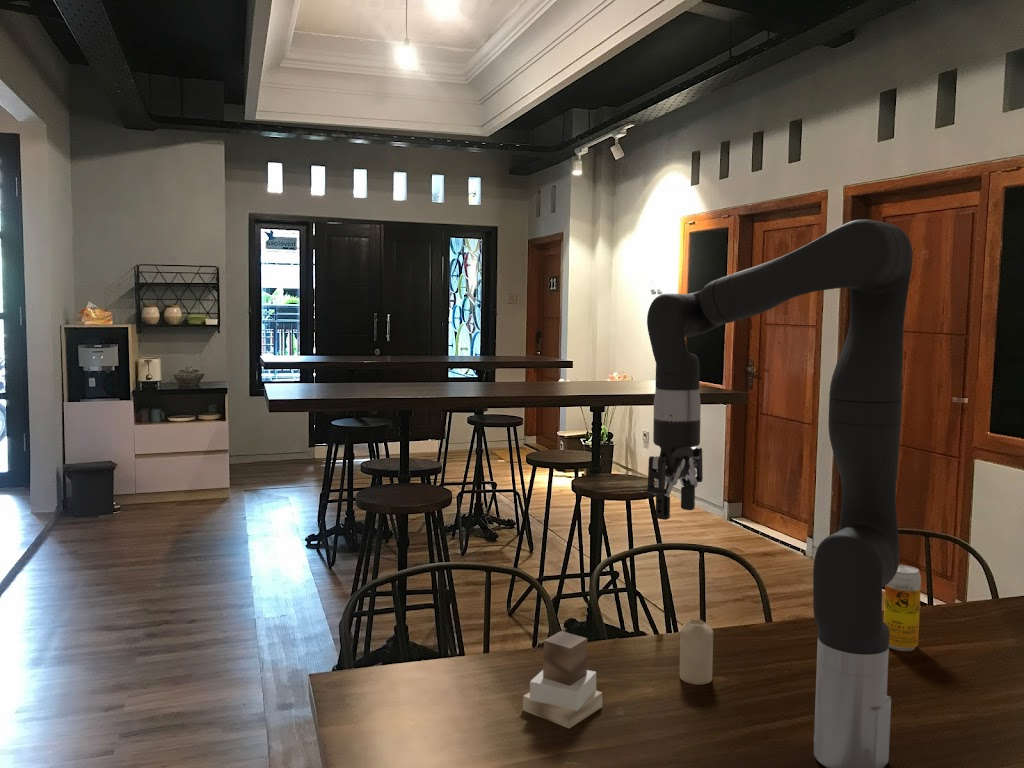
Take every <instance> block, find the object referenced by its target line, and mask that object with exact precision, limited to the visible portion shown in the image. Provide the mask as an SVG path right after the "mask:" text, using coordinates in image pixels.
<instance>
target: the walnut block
mask: <svg viewBox="0 0 1024 768" xmlns="http://www.w3.org/2000/svg"><path fill="white" fill-rule="evenodd" d="M542 654H543V663H542V664H543V666H542V670H543V677H544V678H547V679H550V680H553V681H556V682H559V683H562V684H565V685H568V686H571V685H572V684H574V683H575V682H577V681H578V680H580V679H581V678H583V677H584V676H585V675H587V670H588V637H584V636H580V635H577V634H573V633H569V632H567V631H562V630H560V631H558V632H556V633H555V634H552V635H550V636H549V637H547V638H546V639H544V640H543V653H542Z"/></svg>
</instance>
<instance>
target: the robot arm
mask: <svg viewBox="0 0 1024 768" xmlns="http://www.w3.org/2000/svg"><path fill="white" fill-rule="evenodd" d="M913 253H914V252H913V246H912V243H911V240H910V238H909V237H908V234H906V232H905V231H904V230H903V229H901V228H900V227H899V226H898V225H895V224H893V223H890V222H884V221H879V220H873V219H868V218H867V219H866V218H865V219H854V220H851V221H849V222H848V221H847V222H846V223H844V224H842V225H840V226H838V227H837V228H834V229H832V230H831V231H828V232H827V233H825V234H823V235H821V236H819V237H818V238H816V239H814V240H813V241H811V242H808V243H807V244H806V245H803V246H801V247H799V248H796V249H795V250H793V251H791V252H788V253H787V254H784V255H781V256H780V257H778V258H773V259H772V260H769V261H767V262H763V263H760V264H757V265H756V266H752V267H749V268H746V269H743V270H741V271H737V272H734V273H730V274H729V275H725V276H722V277H720V278H717V279H715V280H711V281H710V282H709V283H707V284H705V285H704V287H703V288H702V289H701V290H698V291H695V292H694V291H693V292H691V293H663V294H659V295H658V296H657V297H655V298H654V299H653V300H652V302H651V304H650V305H649V308H648V311H647V318H646V327H647V332H648V337H649V341H650V345H651V350H652V354H653V357H654V362H655V392H654V393H655V394H654V399H653V431H652V432H653V435H652V437H653V440H652V441H653V443H654V445H655V446H658V447H659V448H660V453H659V456H657V455H656V456H655V455H649V456H648V467H647V468H648V469H647V472H648V474H647V493H648V494H652V495H654V496H655V517H656V519H658V520H664V521H666V520H669V519H670V517H671V496H670V495H671V493H672V490H673V487H674V486H676V485H677V484H678V480H679V482H680V484H681V487H680V488H681V489H680V490H681V491H680V508H681V509H682V510H686V511H693V510H695V505H696V502H695V501H696V488H697V487H698V485H699V484H698V483H702V481H703V475H704V474H703V448H702V447H698V446H700V444H701V407H702V406H701V405H702V404H701V396H700V395H701V394H700V371H701V369H700V367H701V366H700V359H699V357H698V355H696V354H695V353H692V352H690V351H689V350H688V348H687V341H686V338H690V337H695V336H699V335H702V334H705V333H707V332H710V331H713V330H714V329H716V328H719V327H721V326H723V325H725V324H730V323H734V322H737V321H740V320H744V319H748V318H750V317H753V316H756V315H759V314H762V313H765V312H767V311H769V310H772V309H774V308H775V307H777V306H779V305H781V304H783V303H785V302H787V301H788V300H789V301H790V300H792V299H794V298H796V297H799V296H802V295H803V296H804V295H807V294H809V293H814V292H819V291H826V290H834V289H845V288H850V290H849V291H850V316H849V317H850V318H849V326H848V331H847V334H846V338H845V341H844V343H843V346H842V349H841V352H840V354H839V356H838V360H837V362H836V365H835V367H834V370H833V372H832V373H833V374H832V376H831V380H830V385H829V395H828V398H829V399H828V435H829V441H830V447H831V450H832V453H833V456H834V460H835V463H836V466H837V469H838V473H839V477H840V482H841V509H840V516H839V517H840V519H839V525H838V530H837V531H836V532H834V533H832V534H830V535H828V536H826V537H825V538H824V539H822V541H821V542H820V544H819V545H818V547H817V549H816V550H815V554H814V559H813V571H812V572H813V573H812V574H813V575H812V576H813V577H812V584H813V585H812V592H813V596H812V597H813V599H812V601H813V603H812V604H813V606H812V607H813V616H814V620H815V623H816V625H817V644H816V645H817V647H816V648H817V650H816V677H815V702H814V703H815V705H814V728H813V729H814V730H813V731H814V732H813V733H814V735H813V755H814V758H815V759H816V761H817V762H819V764H821V765H822V766H824V767H825V768H885V767H886V765H887V764H888V763H889V757H890V755H889V754H890V737H891V734H890V733H891V716H892V715H891V713H892V712H891V711H892V710H891V709H892V708H891V707H892V697H891V696H890V695H888V679H889V678H888V676H889V675H888V673H889V670H888V669H889V653H890V651H889V650H890V647H889V628H888V626H887V625H886V623H884V620H883V616H882V615H883V610H882V609H883V588H885V586H886V585H887V584H888V583H889V582H890V581H891V580H892V579H893V577H894V576H895V574H896V572H897V570H898V566H899V565H900V554H901V553H900V542H899V541H900V539H899V527H898V516H897V497H896V495H897V494H896V493H897V480H898V471H899V458H900V457H899V455H900V440H901V427H902V415H903V414H902V408H903V405H902V404H903V367H904V366H903V365H904V363H903V362H904V326H905V325H904V324H905V323H904V322H905V316H906V307H907V302H908V301H907V300H908V294H909V288H910V282H911V276H912V268H913V260H914V259H913V257H914V255H913ZM655 480H656V481H655Z"/></svg>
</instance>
